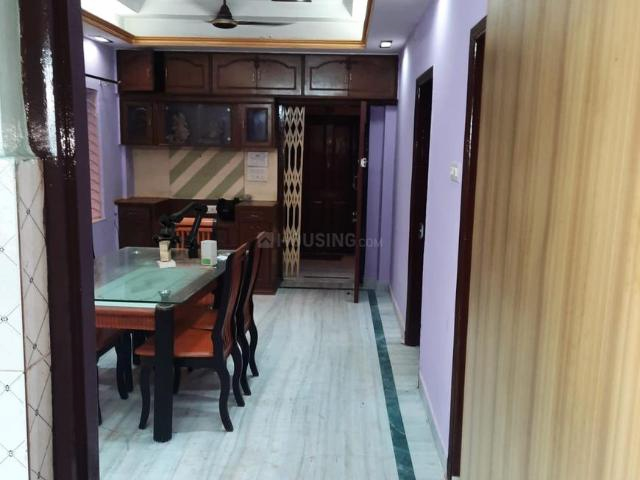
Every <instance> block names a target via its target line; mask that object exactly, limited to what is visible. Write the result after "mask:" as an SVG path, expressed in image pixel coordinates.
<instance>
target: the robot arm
mask: <svg viewBox="0 0 640 480" xmlns="http://www.w3.org/2000/svg"><path fill="white" fill-rule="evenodd" d="M193 210H194V212H195V217H194V220H193V223H192V225H191V226H192V227H191V228H190V232H189V234H188V235H185V236H184V240H183V238H182V237H181V235H175V231H176V230H177V229H179V226H178V225H177V224H181V222H183V221H184V218H185V217H186V216H187V215H188V214H190V213H191V212H192V211H193ZM208 210H209V207H208V205H207V204H205V203H204V204H202V203H197V202H194V201H192V202H191V201H190V203H189V204H188V205H185V207H184V208H182V209H181V210H179V211H178V212H175V213H173V214H171V215H170V216H168V215H167V214H166V213H163V214H162V215H160V216H159V217H158V218H157V222H158V223H159V224H160V225H161V226H163V227H164V228H160V232H159V234H160V235H161V236H160V235H153V236H152V237H151V238H152V239H151V240H152V241H153V242H154V244H157V245H159V242H162V241H170V243H169V246H168V251H169V250H170V249H171V250H172V248H173V247H174V246H176V245H178V244H182V243H183V244H184V247H185V249H187V250H186V251H187V252H186V253H187V258H189V259H196V258H199V257H200V256H199V249H201V244H199V243H198V237H197V236H198V233H199V230H200V227H201V224H202V221H203V218H204V217H205V216H206V215H207V213H208Z"/></svg>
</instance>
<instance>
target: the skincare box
mask: <svg viewBox="0 0 640 480" xmlns="http://www.w3.org/2000/svg"><path fill="white" fill-rule="evenodd" d="M200 252H201V265H204V266H215V265H217V264H218V247H217V240H209V239H206V240H202V241H200Z"/></svg>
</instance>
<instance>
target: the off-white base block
mask: <svg viewBox="0 0 640 480" xmlns="http://www.w3.org/2000/svg"><path fill="white" fill-rule="evenodd" d="M156 264H157V265H158V266H159V267H158V266H157V267H158V268H159V269H166V268H174V267H175V268H176V261H175V260H174V259H172V258H171V259H170V260H168V261H161V260H156Z"/></svg>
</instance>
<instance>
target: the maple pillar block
mask: <svg viewBox="0 0 640 480" xmlns="http://www.w3.org/2000/svg"><path fill="white" fill-rule="evenodd" d="M169 243H170V241H162V242H159V244H158V245H159V253H160V261H168V260H171V259H172V252H171V250H172V248H171V249H170V250H169V251H168V246H169Z"/></svg>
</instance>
